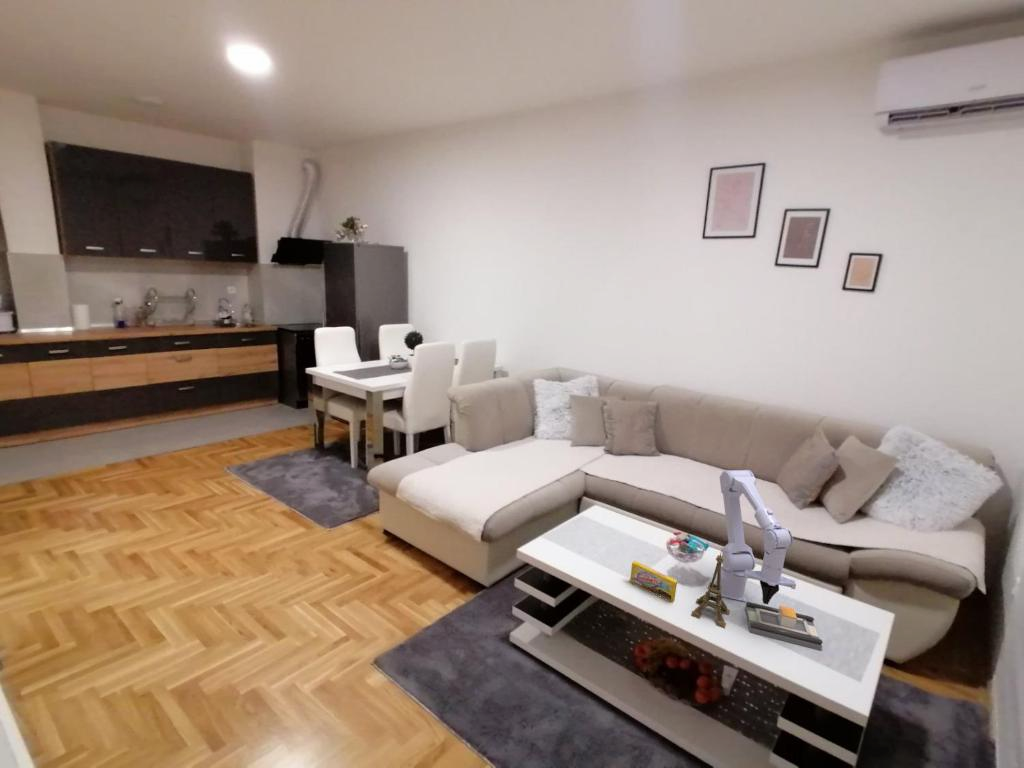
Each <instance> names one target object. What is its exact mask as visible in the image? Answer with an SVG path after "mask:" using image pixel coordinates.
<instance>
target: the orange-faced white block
mask: <svg viewBox="0 0 1024 768" xmlns="http://www.w3.org/2000/svg"><path fill="white" fill-rule="evenodd" d="M778 609H779V612H778V617H777V618H778V621H779V625H780V626H783V627H787V628H791V629H795V624H796V620H797V617H796V614H795V613H796V611H795V609H794V608H793V607H790V606H789V607H788V606H785V605H781V604H780V605H779V608H778Z"/></svg>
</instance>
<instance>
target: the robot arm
mask: <svg viewBox="0 0 1024 768" xmlns="http://www.w3.org/2000/svg"><path fill="white" fill-rule="evenodd" d="M756 482H757V478H756V477H755V475H754V472H752V471H751V470H750V469H743V470H742V469H741V470H737V469H736V470H734V469H733V470H728V469H726V470H724V469H723V471H722V473H721V474H720V475H719V483H720V491H721V494H722V497H723V505H724V507H723V508H724V513H725V524H726V531H727V540H728V543H727V544H726V545H724V546H722V548H721V549H722V552H721V556H723V559H724V561H723V562H722V564H721V585H720V586H722V591H721V597H723V598H726V599H727V598H728V599H732V600H736V601H740V602H747V598H746V593H745V590H746V585H747V579H751V580H756V581H759V583H760V587H761V592H762V593H761V594H762V599H761V600H762V604H763V605H769V603H770V601H771V599H772V598H773V597H774V596H775V594H777V593H778V592H779V591H780V586H783V587H787V588H791V589H792V590H796V586H797V583H796V580H793V579H790V578H787V577H784V576H782V573H783V568H784V563H785V558H786V555H787V549H788V548H791V547H792V546H793V543H794V538H793V534H792V533H791V530H790V529H788V528H787V527H785V526H784V525H782V524H781V522H780V521H779V519H778V518H777V516H776V515H775V513H774V511H773V510H772V508H769V507H767V506H766V505H765V502H764V501H763V499H762V497H761V495H760V492H759V491H758V489H757V487H756ZM742 495H743V496H744V497H745V498H746V500H747V501H748V502H749V504H750V505H751V507H752V509H753V510H754V511H755V512H754V514H753V515H754V519H755V520H756V522H757V524H758V526H759V528H760V529H761V530H762V532H763V534H762V535H763V536H762V537H763V539H762V540H763V548H764V554H763V559H762V565H761V569H760V570H755V567H756V558H755V556H754V554H753V548H752V547H750V546H749V545H748V544H747V543H746V540H745V532H744V525H743V524H744V523H743V517H742V510H741V509H742V508H741V502H740V497H741V496H742ZM714 584H716V585H717V577H716V579H715V582H714Z"/></svg>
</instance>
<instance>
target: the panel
mask: <svg viewBox="0 0 1024 768" xmlns="http://www.w3.org/2000/svg"><path fill="white" fill-rule="evenodd" d="M744 608H745V609H744V610H745V614H746V619H747V624H748V625H747V626H748V629H749V633H750V634H754V635H758V636H763V637H767V638H770V639H775V640H779V641H782V642H786V643H791V644H794V645H798V646H802V647H807V648H810V649H814V650H818V651H822V648H823V645H822V644H823V643H824V642H823V640H822V639H820V637H819V634H818V631H817V629H816V627H815V623H814V622H815V618H814V616H809V615H804V614H802V613H798V612H795V614H796V617H797V620H796V624H795V629H791V628H787V627H783V626H780V625H779V621H778V618H777V617H778V612H779V608H776V607H772V606H768V605H765V604H759V603H755V602H751V601H746V603H745V606H744Z"/></svg>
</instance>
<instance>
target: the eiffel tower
mask: <svg viewBox="0 0 1024 768" xmlns="http://www.w3.org/2000/svg"><path fill="white" fill-rule="evenodd" d="M722 549H723V548H721V549H720V550H721V551H720V554H718V555H717V556H716V558H715V561H717V563H716V566H715V569H714V572H713V576H712V578H711V581H710V582H709V583H708V585H707V591H705V594H703V595H702V596H700V597H699V598H696V600H695V604H696V605H698V606H697V607H696V608H695V609H694V610H691V614H690V616H691V617H693V618H695V617H696V618H695V619H697V620H699V619H701V616H702V612H703V611H704V609H705V608H707V607H708V608H712V609H713V610H714V611H716V622H715V626H716V627H719V628H722V629H726V626H727V623H726V621H725V618H724V616H723V615H722V614H724V615H727V616H729V615H730V611H731V610H730V609H728V606H727V605H726V603H725V602H724V600H723V598H724V597H723V596H721V591H722V586H720V585H721V566H722V562H723V561H724V559H723V556H722ZM716 578H717V585H716V584H715V583H716Z"/></svg>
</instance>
